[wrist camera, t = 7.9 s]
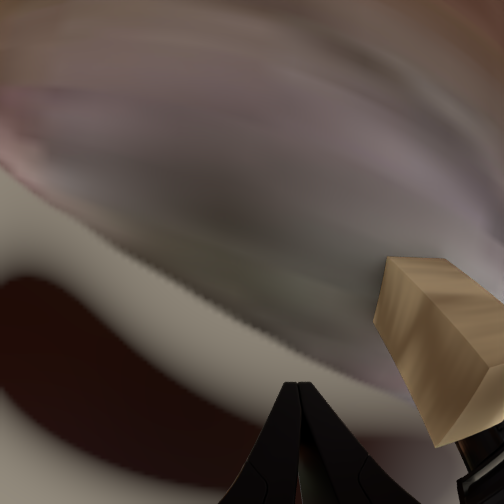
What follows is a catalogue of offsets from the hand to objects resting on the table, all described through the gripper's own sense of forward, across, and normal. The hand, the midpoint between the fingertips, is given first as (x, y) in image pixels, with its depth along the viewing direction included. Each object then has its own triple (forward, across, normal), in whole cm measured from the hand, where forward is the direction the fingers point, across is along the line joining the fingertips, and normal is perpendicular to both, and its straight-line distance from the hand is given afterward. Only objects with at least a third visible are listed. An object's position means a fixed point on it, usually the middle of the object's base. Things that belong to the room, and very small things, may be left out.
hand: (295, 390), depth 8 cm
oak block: (+7, -7, 0) cm, 10 cm away
